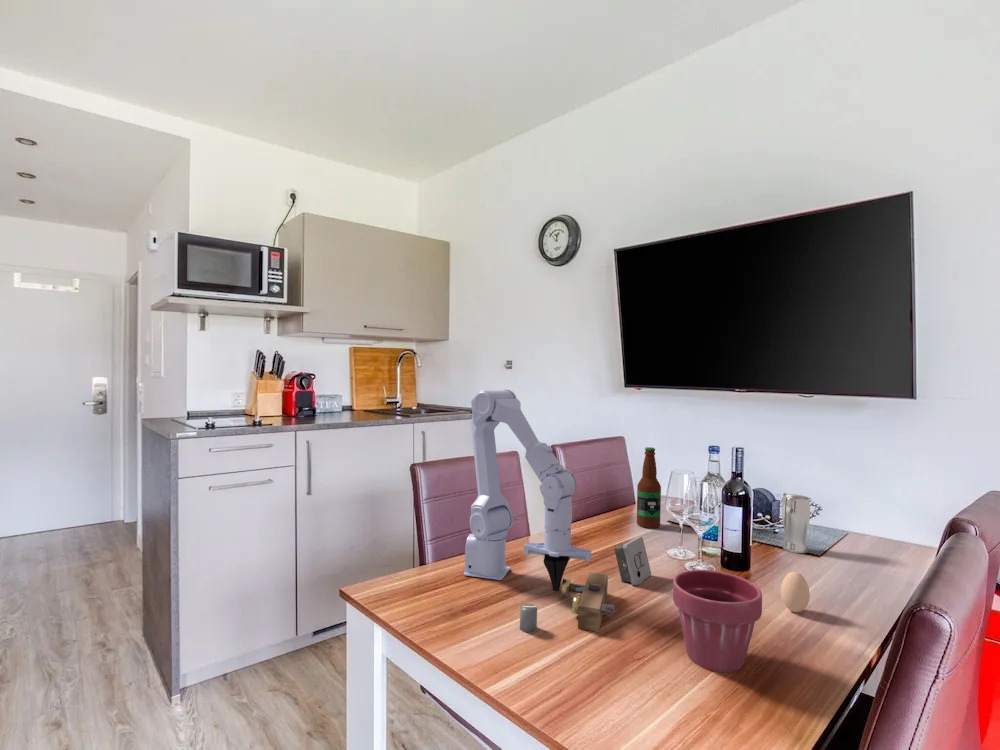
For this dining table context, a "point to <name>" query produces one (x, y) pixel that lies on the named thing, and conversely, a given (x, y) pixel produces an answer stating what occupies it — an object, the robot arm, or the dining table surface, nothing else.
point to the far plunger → (571, 587)
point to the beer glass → (795, 522)
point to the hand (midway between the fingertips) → (556, 589)
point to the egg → (795, 592)
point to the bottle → (649, 493)
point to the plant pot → (716, 617)
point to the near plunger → (604, 607)
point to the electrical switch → (633, 561)
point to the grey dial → (528, 618)
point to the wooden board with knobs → (592, 602)
